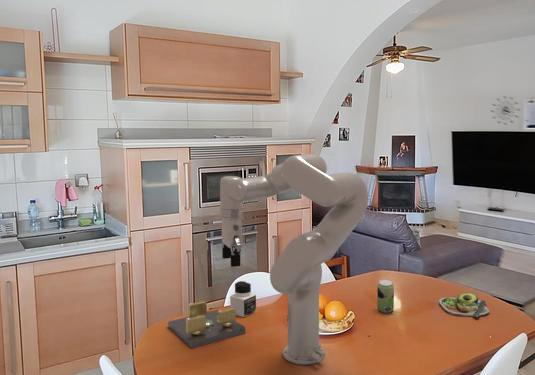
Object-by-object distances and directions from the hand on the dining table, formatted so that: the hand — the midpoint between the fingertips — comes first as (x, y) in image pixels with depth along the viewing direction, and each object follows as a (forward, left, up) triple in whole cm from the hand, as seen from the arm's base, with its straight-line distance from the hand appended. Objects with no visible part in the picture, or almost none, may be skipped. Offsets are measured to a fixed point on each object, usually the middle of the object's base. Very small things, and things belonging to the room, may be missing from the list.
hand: (231, 262), depth 157 cm
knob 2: (0, +2, -22) cm, 22 cm away
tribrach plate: (+5, +8, -24) cm, 26 cm away
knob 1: (0, +14, -22) cm, 26 cm away
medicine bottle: (+11, -11, -25) cm, 29 cm away
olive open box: (+12, +8, -22) cm, 26 cm away
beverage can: (-19, -56, -25) cm, 64 cm away
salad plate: (-34, -83, -25) cm, 93 cm away
